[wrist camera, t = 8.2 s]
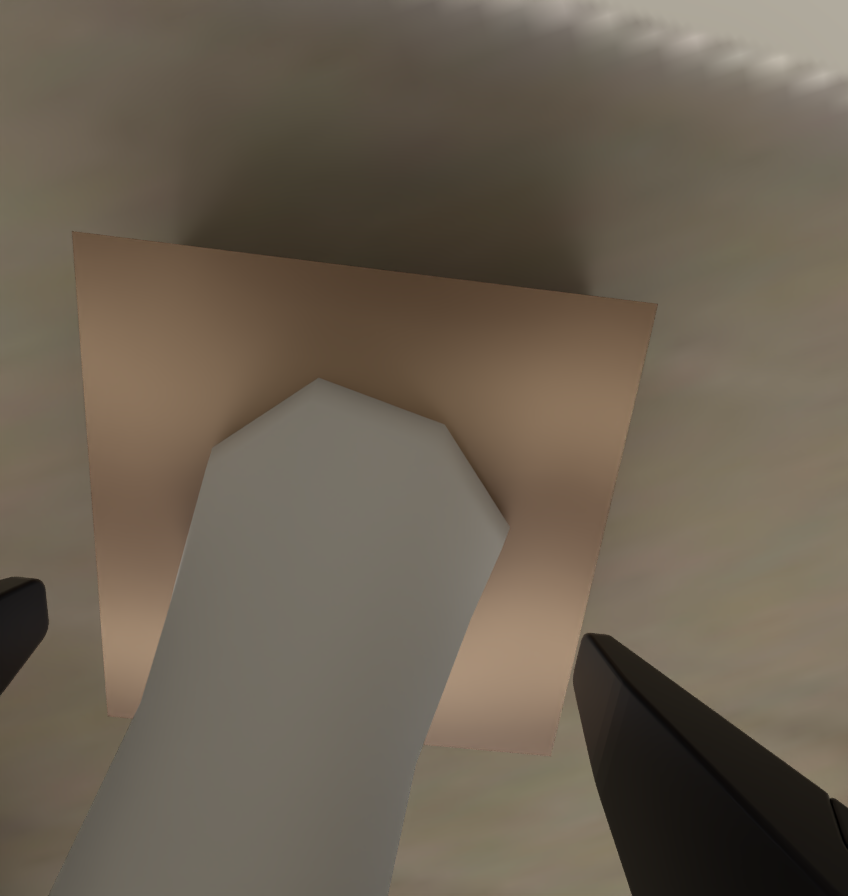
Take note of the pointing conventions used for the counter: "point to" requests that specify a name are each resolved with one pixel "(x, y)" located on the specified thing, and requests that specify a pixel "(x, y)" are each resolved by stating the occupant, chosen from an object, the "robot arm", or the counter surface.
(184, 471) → the walnut block
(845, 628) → the counter surface
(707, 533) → the counter surface
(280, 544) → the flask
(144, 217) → the counter surface
